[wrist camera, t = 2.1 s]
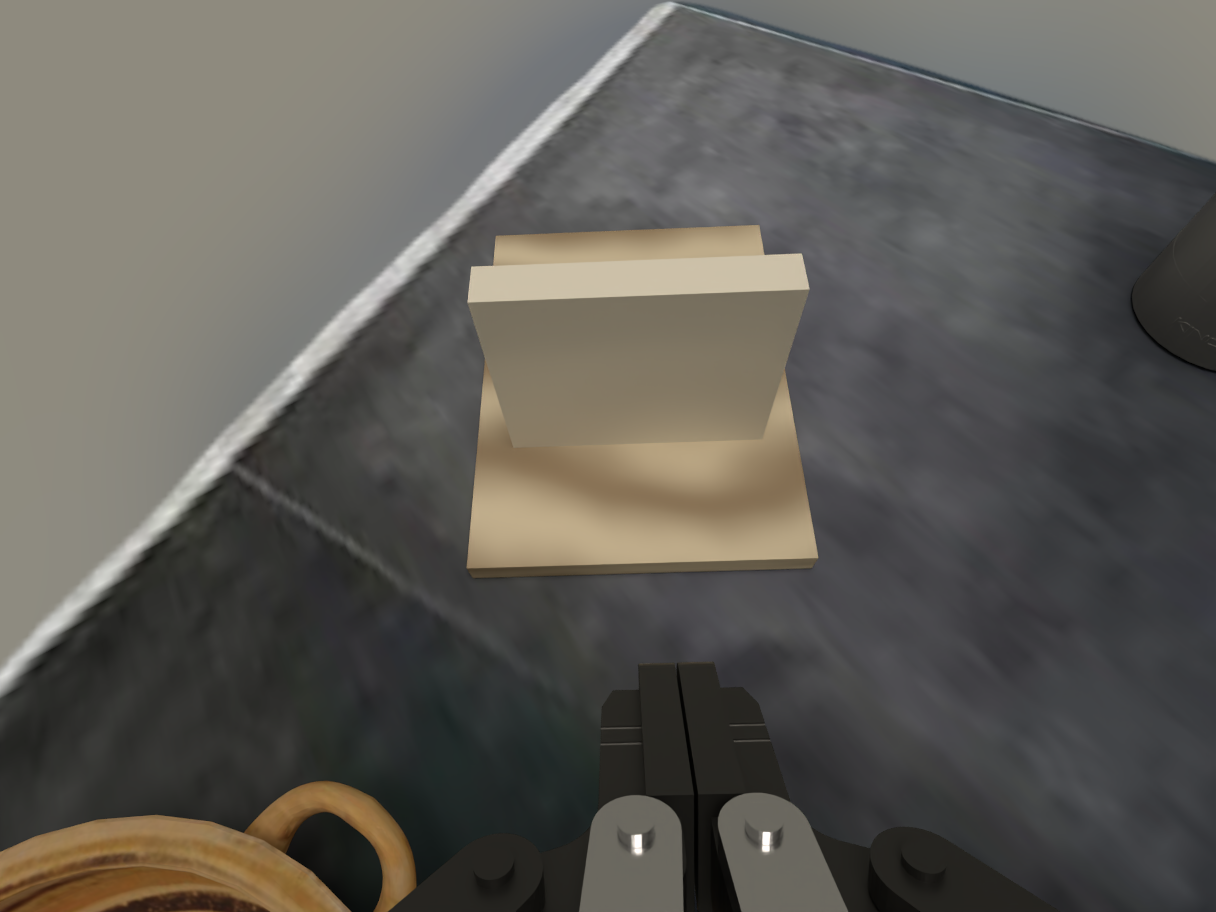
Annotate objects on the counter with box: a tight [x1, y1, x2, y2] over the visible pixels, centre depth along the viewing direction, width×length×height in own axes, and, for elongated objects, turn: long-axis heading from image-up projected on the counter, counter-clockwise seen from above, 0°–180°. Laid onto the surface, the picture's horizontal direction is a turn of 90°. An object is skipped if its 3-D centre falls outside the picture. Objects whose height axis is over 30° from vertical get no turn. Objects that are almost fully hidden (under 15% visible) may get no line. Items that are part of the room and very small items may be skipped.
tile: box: [468, 254, 809, 448], centre depth 34 cm, size 14×2×12 cm, turn 91°
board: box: [467, 225, 818, 578], centre depth 41 cm, size 24×18×2 cm
